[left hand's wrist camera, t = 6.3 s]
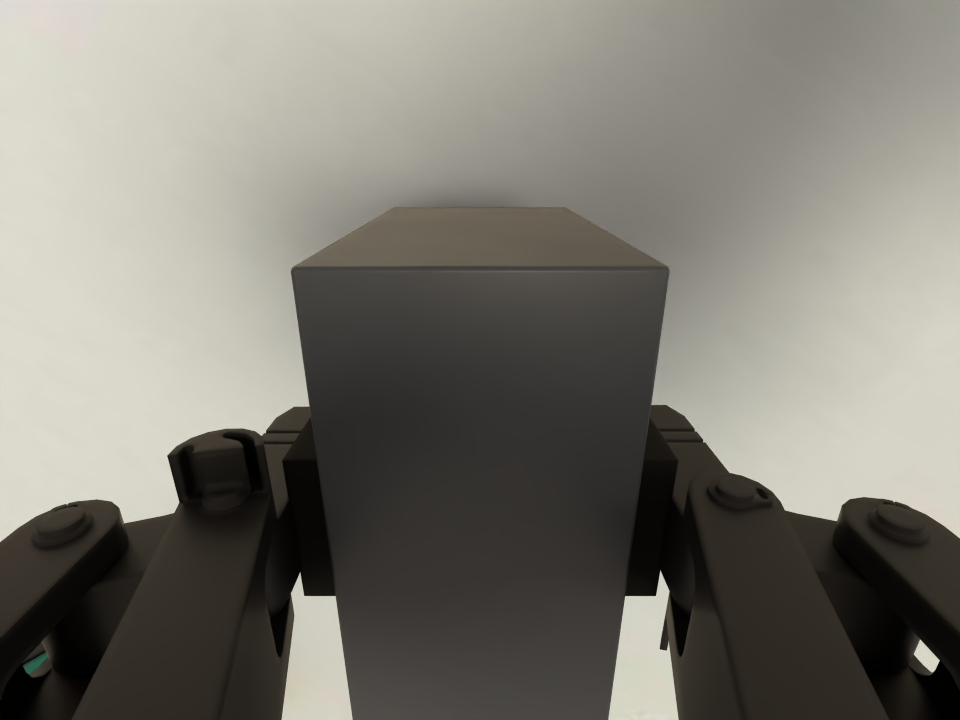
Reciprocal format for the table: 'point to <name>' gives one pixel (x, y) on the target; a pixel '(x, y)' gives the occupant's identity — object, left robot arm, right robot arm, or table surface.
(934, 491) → the table surface
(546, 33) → the table surface
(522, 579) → the beam
